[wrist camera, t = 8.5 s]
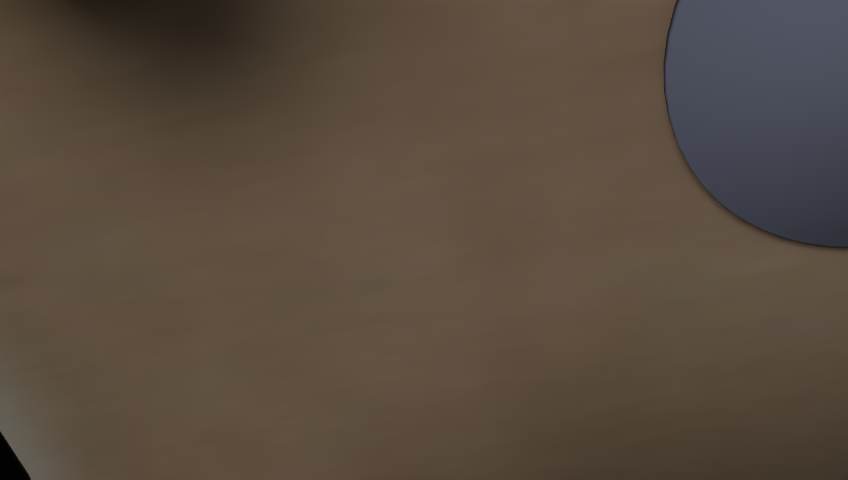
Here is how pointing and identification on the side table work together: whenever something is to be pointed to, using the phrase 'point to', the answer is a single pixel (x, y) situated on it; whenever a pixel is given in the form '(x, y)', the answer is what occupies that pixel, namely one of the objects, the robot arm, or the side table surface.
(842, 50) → the coaster
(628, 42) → the side table surface
